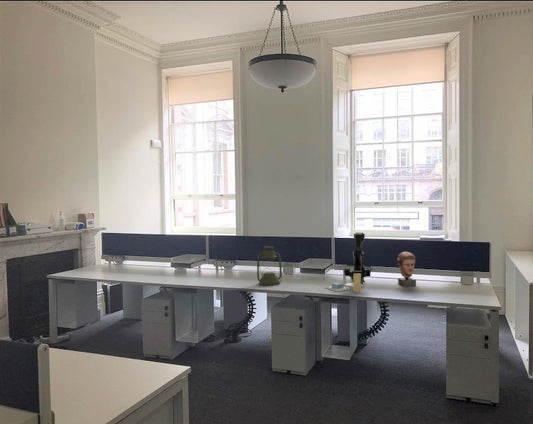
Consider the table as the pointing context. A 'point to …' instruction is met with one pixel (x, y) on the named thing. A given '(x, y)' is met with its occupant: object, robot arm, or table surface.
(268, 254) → the lantern
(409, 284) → the bust
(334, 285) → the base brick
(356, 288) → the pillar brick
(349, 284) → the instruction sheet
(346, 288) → the baseplate
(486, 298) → the table surface
